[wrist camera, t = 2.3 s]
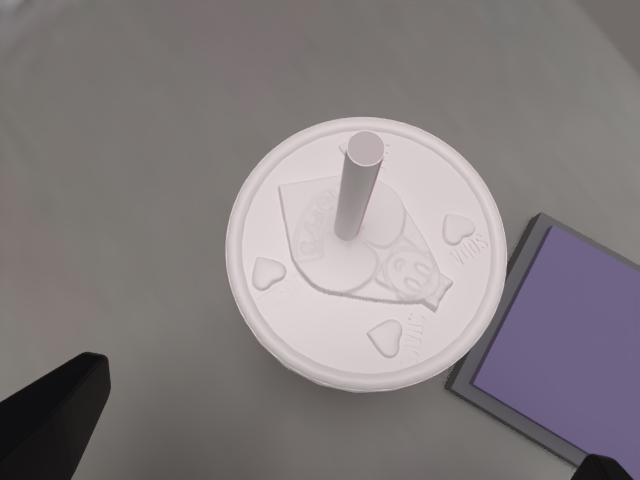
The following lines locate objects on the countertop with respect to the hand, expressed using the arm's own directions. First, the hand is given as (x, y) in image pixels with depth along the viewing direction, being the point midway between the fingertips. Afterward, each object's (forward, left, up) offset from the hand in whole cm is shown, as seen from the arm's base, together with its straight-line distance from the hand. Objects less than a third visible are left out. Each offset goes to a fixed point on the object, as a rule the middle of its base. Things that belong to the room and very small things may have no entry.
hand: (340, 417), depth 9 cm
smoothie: (+4, -1, -11) cm, 11 cm away
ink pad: (+2, -10, -11) cm, 15 cm away
